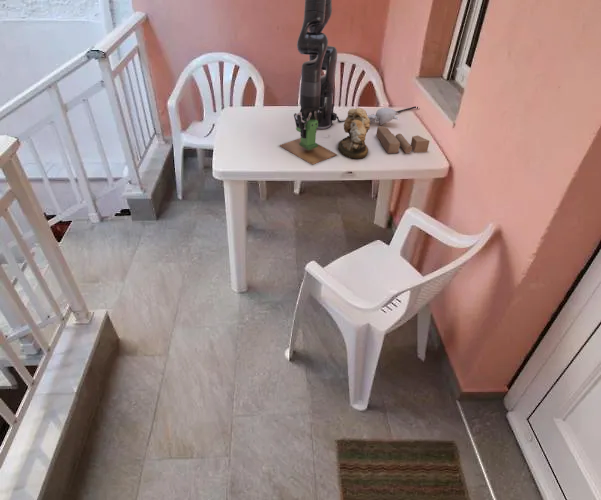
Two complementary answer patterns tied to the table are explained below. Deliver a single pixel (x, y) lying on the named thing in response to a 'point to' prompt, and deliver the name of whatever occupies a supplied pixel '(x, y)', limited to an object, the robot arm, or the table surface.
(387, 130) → the wooden block set
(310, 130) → the toy dinosaur
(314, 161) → the wooden board
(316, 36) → the robot arm
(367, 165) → the table surface
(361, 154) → the tan lumpy upright piece
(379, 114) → the toy creature
